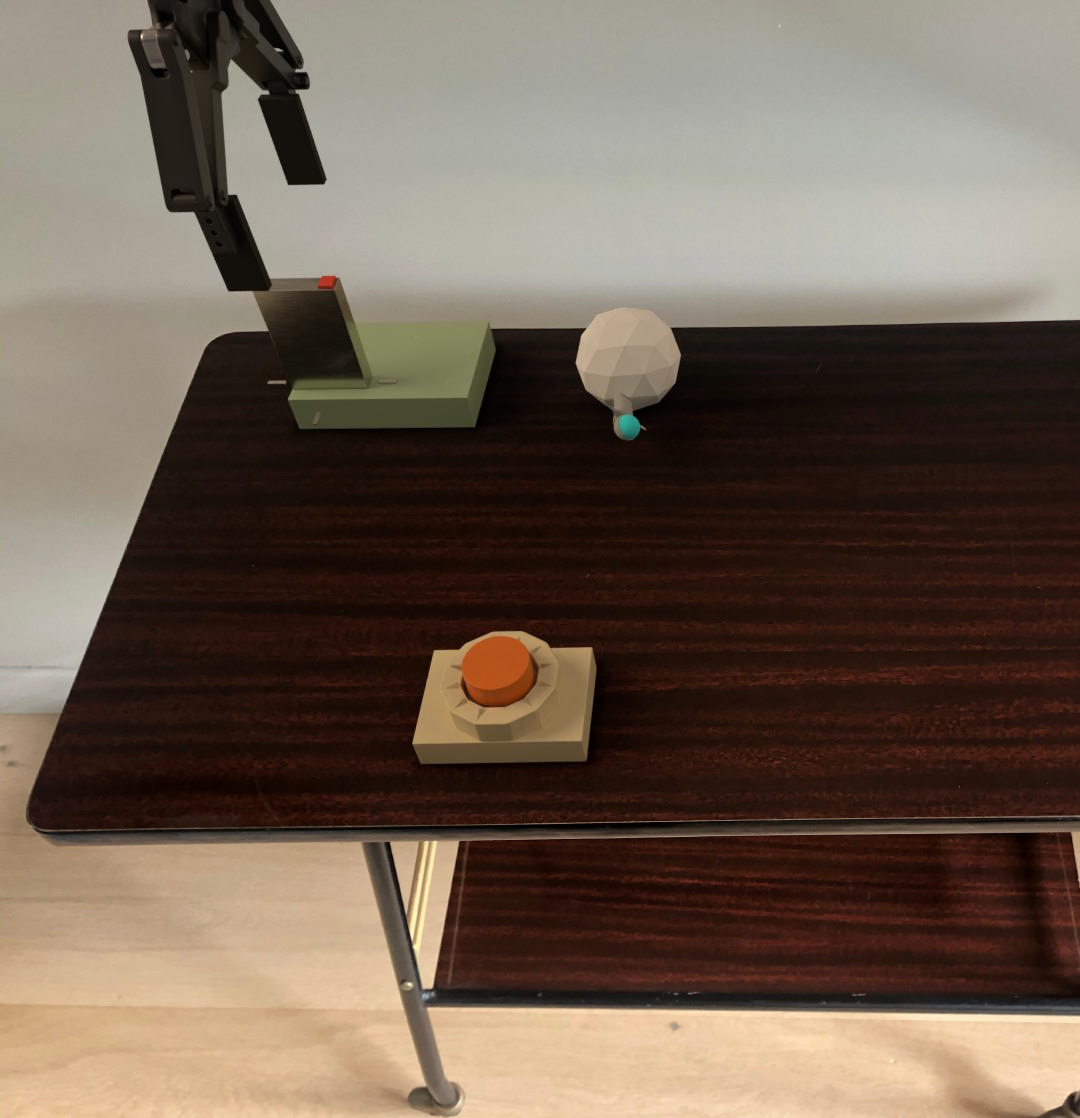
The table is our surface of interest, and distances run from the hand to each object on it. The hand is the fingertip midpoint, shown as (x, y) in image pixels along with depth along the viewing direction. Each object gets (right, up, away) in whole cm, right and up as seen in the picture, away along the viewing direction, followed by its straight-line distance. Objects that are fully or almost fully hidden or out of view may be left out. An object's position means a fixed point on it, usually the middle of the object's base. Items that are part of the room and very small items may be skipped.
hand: (280, 232), depth 79 cm
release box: (+18, -33, -9) cm, 38 cm away
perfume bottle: (+24, -11, +11) cm, 28 cm away
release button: (+18, -30, -11) cm, 37 cm away
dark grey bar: (0, -9, +10) cm, 13 cm away
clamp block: (+3, -10, +13) cm, 16 cm away
